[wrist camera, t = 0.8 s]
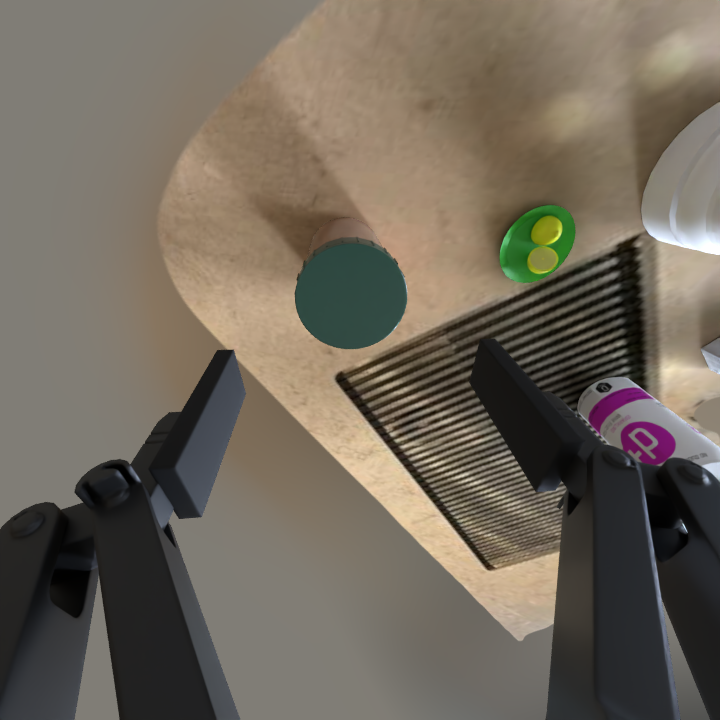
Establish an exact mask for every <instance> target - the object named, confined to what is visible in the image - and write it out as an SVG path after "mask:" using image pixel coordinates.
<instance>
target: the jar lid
mask: <svg viewBox="0 0 720 720" xmlns="http://www.w3.org/2000/svg"><path fill="white" fill-rule="evenodd" d="M295 304H296V309H297V312H298V315H299V318H300V320H301V322H302V323H303V325H304V326H305V328H306V329H307V330H308V331H309V332H310V333H311V334H312V335H313V336H314V337H315V338H317V339H318V340H320V341H321V342H323V343H325V344H327V345H330V346H333V347H336V348H341V349H360V348H364V347H368V346H371V345H373V344H376V343H378V342H379V341H381V340H383V339H384V338H386V337H387V336H388V335H389V334H390V333H391V332H392V331H393V330H394V329H395V328H396V327H397V325H398V324H399V322H400V321H401V319H402V317H403V314H404V312H405V308H406V304H407V286H406V282H405V279H404V275H403V273H402V271H401V270H400V269H399V267H398V263H397V261H396V260H395V258H394V259H393V257H392V256H391V255H390V254H389V253H388V252H387V250H386V249H385V248H382V247H381V246H379V245H378V244H376V243H374V242H373V241H372V240H371V241H369V240H366V239H362V238H358V236H357V237H345V238H343V237H341V238H339V239H335V240H332V241H329V242H328V241H327V242H326V243H325V244H323V245H322V246H320V247H319V248H317V249H316V250H315V249H314V251H313V253H312V254H311V255H310V256H309V257H308V258H307V260H306V261H304V263H303V266H302V269H301V271H300V274H299V273H298V277H297V285H296V290H295Z"/></svg>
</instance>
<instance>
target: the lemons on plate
mask: <svg viewBox="0 0 720 720" xmlns="http://www.w3.org/2000/svg"><path fill="white" fill-rule="evenodd" d="M574 239H575V224H574V220H573V218H572V216H571V215H570V213H569V212H568V211H567V210H565V209H564V208H562V207H559V206H554V205H546V206H541V207H537V208H535V209H533V210H531V211H529V212H527V213H526V214H524V215H523V216H521V217H520V218H519V219H518V220H517V221H516V222H515V223H514V224H513V225H512V227H511V228H510V229H509V231H508V232H507V234H506V236H505V238H504V240H503V243H502V245H501V250H500V264H501V268H502V270H503V272H504V273H505V274H506V276H507V277H509V278H510V279H511V280H513V281H516V282H521V283H529V282H534V281H538V280H540V279H542V278H545V277H546V276H548V275H549V274H551V273H552V272H554V271H555V270H556V269H557V268H558V267H559V266H560V265H561V264H562V263H563V262H564V260H565V259H566V257H567V256H568V254H569V252H570V250H571V248H572V246H573V243H574Z"/></svg>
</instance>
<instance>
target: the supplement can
mask: <svg viewBox="0 0 720 720" xmlns="http://www.w3.org/2000/svg"><path fill="white" fill-rule="evenodd" d="M577 409H578V411H579V414H580V415H581V416H582V417H583V418H584V419H585V420H586V421H587V422H588V423H589V424H590V425H591V426H592V427H593V428H594V429H595V430H596V431H597V433H598V434H599V435H600V436H601V437H602V438H603V439H604V440H605V441H606V442H607V443H608V444H609V445H610V446H614V447H617V448H619V449H621V450H624V451H625V452H627V453H628V454H630V455H631V456H632V457H633V458H634V459H635V460H636V461H637V462H642V463H647V464H652V465H658V466H662V465H663V463H664V462H665V461H666V460H667V459H669V458H672V457H676V458H683V459H686V460H690V461H692V462H694V463H696V464H699V465H700V466H702V467H704V468H705V469H707V470H708V471H709V472H711V473H712V474H713V475H714V476H715V477H716V478H717V479H718V480H719V482H720V447H718V446H717V445H716V444H714V443H713V442H712V441H710V440H709V439H708V438H706V437H705V436H704V435H703V434H701V433H700V432H699V431H697V430H696V429H695V428H693V427H692V426H691V425H689V424H688V423H687V422H685V421H684V420H683V419H681V418H680V417H679V416H677V415H676V414H675V413H673V412H672V411H671V410H669V409H668V408H667V407H665V406H664V405H663V404H661V403H660V402H659V401H657V400H656V399H655V398H653V397H652V396H651V395H649V394H648V393H647V392H645V391H644V390H643V389H641V388H640V387H639V386H637V385H636V384H635V383H633V382H632V381H631V380H630V379H628V378H624V377H611V378H605V379H602V380H600V381H597V382H595V383H594V384H592V385H591V386H589V387H588V388H587V389H586V390H585V391H584V392H583V393H582V395H581V396H580V398H579V402H578V407H577Z"/></svg>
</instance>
